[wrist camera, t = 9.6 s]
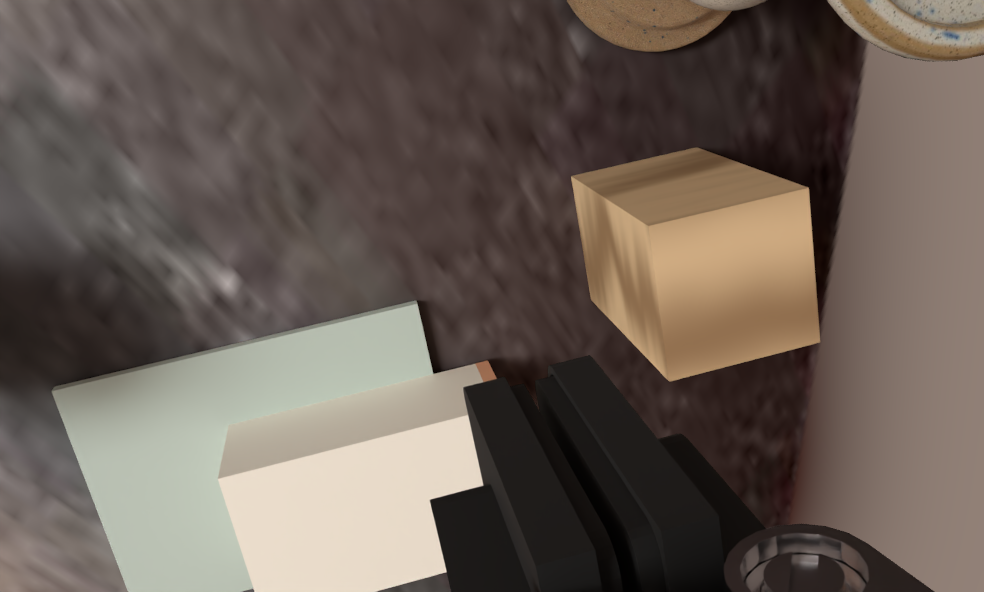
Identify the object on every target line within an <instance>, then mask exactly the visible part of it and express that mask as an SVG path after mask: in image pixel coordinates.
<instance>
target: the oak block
mask: <svg viewBox="0 0 984 592" xmlns="http://www.w3.org/2000/svg"><path fill="white" fill-rule="evenodd" d="M571 179H572V185H573V191H574V197H575V203H576V209H577V216H578V222H579V228H580V234H581V240H582V246H583V253H584V259H585V265H586V271H587V277H588V283H589V290H590V296H591V300H592V301H593V302H594V303H595V304H596V305H597V307H598V308H599V309H600V310H601V311H602V312H603V313H604V314H605V315H606V316H607V317H608V318H609V319H610V320H611V321H612V322H613V323H614V324H615V325H616V326H617V327H618V328H619V329H620V331H621V332H622V333H623V334H624V335H625V336H626V337H627V338H628V339H629V340H630V341H631V342H632V343H633V344H634V345H635V346H636V347H637V348H638V349H639V350H640V351H641V352H642V354H643V355H644V356H645V357H646V358H647V359H648V360H649V361H650V362H651V363H652V364H653V365H654V366H655V367H656V368H657V369H658V370H659V371H660V372H661V373H662V374H663V375H664V376H665V378H666V379H667V380H668V381H673V380H677V379H681V378H685V377H689V376H693V375H696V374H700V373H704V372H708V371H712V370H716V369H719V368H723V367H727V366H731V365H735V364H739V363H742V362H746V361H750V360H754V359H758V358H762V357H765V356H769V355H773V354H777V353H781V352H785V351H788V350H792V349H796V348H800V347H804V346H808V345H811V344H815V343H819V342H820V334H819V320H818V307H817V293H816V279H815V266H814V252H813V239H812V225H811V211H810V198H809V188H808V187H805V186H802V185H800V184H797V183H794V182H791V181H788V180H786V179H783V178H780V177H777V176H775V175H772V174H769V173H766V172H764V171H761V170H758V169H755V168H752V167H750V166H747V165H744V164H741V163H739V162H736V161H733V160H730V159H728V158H725V157H722V156H719V155H716V154H714V153H711V152H708V151H705V150H703V149H700V148H697V147H696V148H692V149H687V150H683V151H679V152H674V153H670V154H666V155H661V156H657V157H653V158H648V159H644V160H639V161H635V162H631V163H626V164H622V165H618V166H613V167H609V168H605V169H600V170H596V171H592V172H587V173H583V174H579V175H574V176H571Z"/></svg>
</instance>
